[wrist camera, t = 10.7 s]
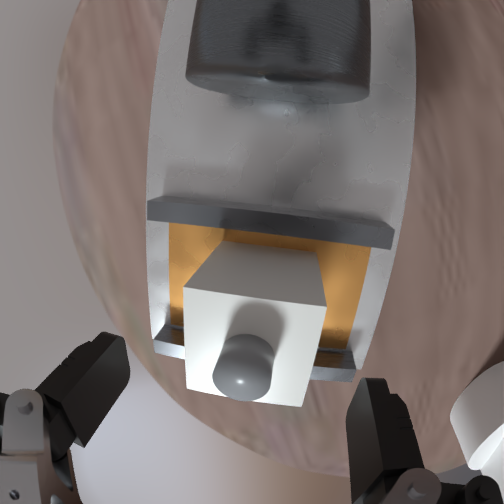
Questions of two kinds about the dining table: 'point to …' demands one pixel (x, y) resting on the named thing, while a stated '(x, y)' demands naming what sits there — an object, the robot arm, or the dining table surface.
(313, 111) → the motor mount
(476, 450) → the white appliance knob
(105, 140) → the dining table surface
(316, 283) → the cube with round knob
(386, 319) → the dining table surface
